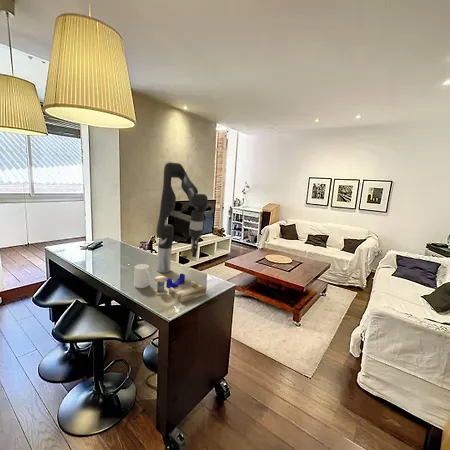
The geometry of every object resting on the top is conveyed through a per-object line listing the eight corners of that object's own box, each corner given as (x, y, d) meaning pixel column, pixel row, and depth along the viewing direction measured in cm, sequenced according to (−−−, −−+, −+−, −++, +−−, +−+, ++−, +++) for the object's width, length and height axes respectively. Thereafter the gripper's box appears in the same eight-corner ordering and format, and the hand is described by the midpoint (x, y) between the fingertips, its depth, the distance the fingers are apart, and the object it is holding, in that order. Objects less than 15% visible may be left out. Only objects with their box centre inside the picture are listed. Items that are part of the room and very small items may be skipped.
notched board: (168, 294, 143) (168, 288, 143) (192, 286, 157) (193, 280, 156) (181, 303, 136) (181, 296, 135) (205, 294, 149) (206, 287, 148)
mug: (154, 287, 151) (155, 268, 148) (142, 291, 144) (142, 271, 142) (143, 280, 158) (143, 262, 155) (130, 284, 151) (131, 265, 149)
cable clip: (171, 289, 150) (171, 280, 149) (166, 287, 153) (166, 277, 152) (185, 284, 160) (186, 275, 159) (181, 282, 162) (181, 273, 161)
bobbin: (151, 291, 145) (152, 277, 143) (162, 288, 150) (163, 275, 149) (158, 296, 140) (159, 281, 139) (169, 292, 146) (169, 279, 144)
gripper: (188, 224, 152) (186, 250, 155) (190, 230, 138) (187, 258, 142) (201, 225, 154) (198, 250, 157) (203, 231, 140) (200, 258, 143)
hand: (193, 254), depth 149 cm, fingers open, 8 cm apart
